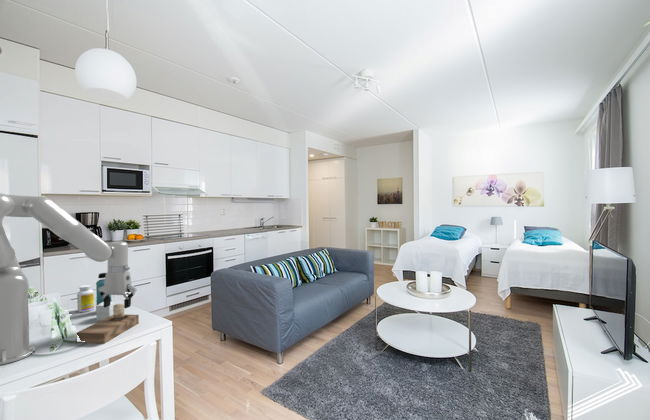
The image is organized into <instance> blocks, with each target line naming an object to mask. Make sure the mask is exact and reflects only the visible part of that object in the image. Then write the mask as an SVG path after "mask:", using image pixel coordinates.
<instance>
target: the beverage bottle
mask: <svg viewBox="0 0 650 420" xmlns="http://www.w3.org/2000/svg"><path fill="white" fill-rule="evenodd" d="M106 273H107V272H101V273H98V277H97V278H98V280H97V281H96V283H95V287H96V290H95V291H96V293H95V294H96V306H97V305H98V304H100V303H102V302H104V299H103V298H102V296H101V295H100V292H99V290H98V288H100V287H102V286H104V283H105V277H106ZM109 297H111V298H112V295H110V296H109Z"/></svg>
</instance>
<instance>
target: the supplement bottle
mask: <svg viewBox="0 0 650 420" xmlns="http://www.w3.org/2000/svg"><path fill="white" fill-rule="evenodd" d="M76 297H77V298H76V299H77V300H76V301H77V312H78V313H86V312H87V313H88V312H90V311H93V310H94V308H95V303H94V302H95V301H94V299H95V298H94V297H95V296H94V290H93V289H92V286H91V284H85V285H80V286H79V291H78V292H77V293H76Z"/></svg>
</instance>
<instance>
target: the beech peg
mask: <svg viewBox="0 0 650 420" xmlns="http://www.w3.org/2000/svg"><path fill="white" fill-rule="evenodd" d="M113 314H114V317H113V319H114V321H121V320H123V319H124V316H125V315H124V314H125V308H124V303H118V304H117V303H116V305H114V306H113Z"/></svg>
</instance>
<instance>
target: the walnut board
mask: <svg viewBox="0 0 650 420" xmlns="http://www.w3.org/2000/svg"><path fill="white" fill-rule="evenodd" d="M124 315H125V316H124V319H123V320H121V321H114V319H113V317H114V315H112V316H109V317H107V318H105V319H103V320H99V321H97V322H96V323H93V324H91V325H89V326H87V327H85V328H83V329H81V330H79V331H77V332H76V333H75V335H76V334H77V335H78V336H79V338H80V340H81V341H85V343H84V344H106V343H108V342H110V341H111V340H112V339H115V338H116V337H118V336H119V335H120V336H121V334H123V333H125V332H127V331H128V330H130V329H131V328H133V327H135V326H137V325H138V324H140V322H139V321H140V319H139V318H140V317H139V316H140V315H139V314H125V313H124Z"/></svg>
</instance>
